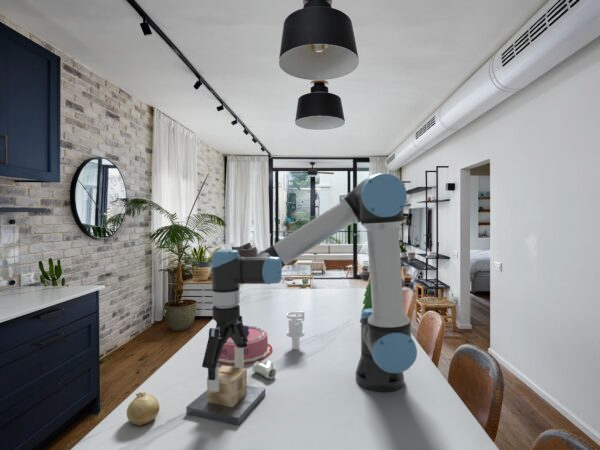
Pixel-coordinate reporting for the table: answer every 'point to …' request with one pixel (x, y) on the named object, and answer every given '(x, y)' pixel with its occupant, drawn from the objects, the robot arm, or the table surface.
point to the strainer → (295, 328)
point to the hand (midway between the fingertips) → (227, 379)
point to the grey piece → (226, 407)
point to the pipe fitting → (265, 369)
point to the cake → (248, 347)
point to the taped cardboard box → (229, 386)
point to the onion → (142, 409)
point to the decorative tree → (367, 298)
